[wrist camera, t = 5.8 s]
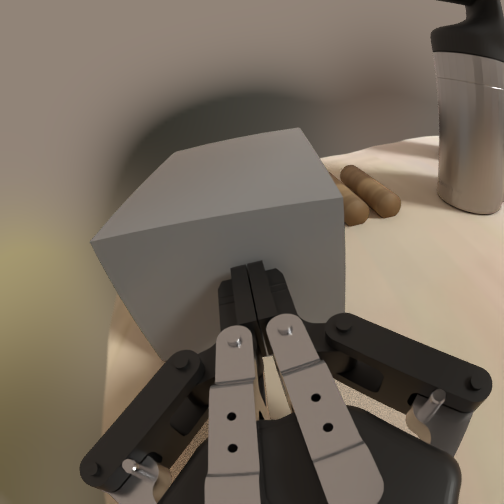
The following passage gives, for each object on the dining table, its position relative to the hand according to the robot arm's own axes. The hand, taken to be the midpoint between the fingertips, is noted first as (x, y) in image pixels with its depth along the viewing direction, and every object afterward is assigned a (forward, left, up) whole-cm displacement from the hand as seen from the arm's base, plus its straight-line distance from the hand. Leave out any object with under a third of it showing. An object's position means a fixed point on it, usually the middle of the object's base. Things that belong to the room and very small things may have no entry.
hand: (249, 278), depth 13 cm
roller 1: (-10, -17, -6) cm, 21 cm away
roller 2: (-14, -17, -6) cm, 23 cm away
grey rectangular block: (0, -8, -7) cm, 11 cm away
